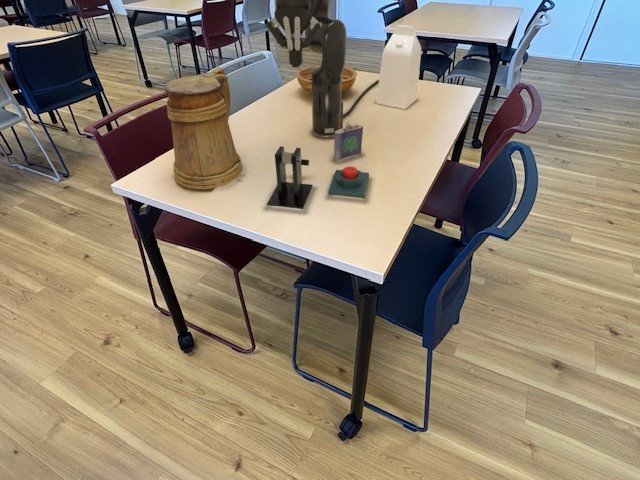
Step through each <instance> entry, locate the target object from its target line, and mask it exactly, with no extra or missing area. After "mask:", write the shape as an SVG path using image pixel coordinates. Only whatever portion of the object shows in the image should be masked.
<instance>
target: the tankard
mask: <svg viewBox="0 0 640 480" xmlns="http://www.w3.org/2000/svg"><path fill="white" fill-rule="evenodd" d="M164 91H165V93H166V94H167V97H168V98H167V100H166V110H167V111H166V112H167V117H168V120H170V126H171V133H172V143H173V155H174V161H173V165H172V166H173V170H172V171H173V177H174V180H175V182H176V183H178V184H179V185H180V186H182V187H185V188H188V189H194V190H211V189H212V190H213V189H216V188H219V187H224V186H226V185H229V184H231V183H232V182H234V181H235V180H236V179H238V177H239V176H241V174H242V172H243V170H244V167H243V166H244V165H243V163H242V159H241V158H242V157H241V156H240V154H239V153H238V152H237V148H236V145H235V142H234V139H233V135H232V132H231V128H230V124H229V118H230V112H231V111H230V110H231V89H230V85H229V79H228V76H227V75H226V73H225V72H224V68H222V67H221V66H218V67H216V68H214V69H212V70H211V71H210V72H204V73H203V72H202V73H199V74H194V75H186V76H182V77H178V78H174V79H171V80H169V81H168V82H166V83H165V86H164Z"/></svg>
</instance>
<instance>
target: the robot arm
mask: <svg viewBox="0 0 640 480" xmlns="http://www.w3.org/2000/svg"><path fill="white" fill-rule="evenodd" d="M330 3H331V0H275V10H274V14H273V15H274V16H273V17H272V18H271V19H270V20H269V21H267V22H266V23H265V26H266V29H268V31H269V32H270V34H271V35H272V36H273V37H274V39H275V40H276V42H277V43H278V45H279V46H280V47H281V48H286V49H287V50H288V58H289V59H288V61H289V62H288V63H289V65H290V66H291V68H297V69H298V68H300V66H301V65H302V63H303V49H306V48H308V49H309V51H311V52H313V53H317V54H321V55H322V56H321V58H322V59H321V63H320V64H317V65H318V66H317V65H314V66H315V67H314V68H313V69H312V72H311V76H312V93H311V118H312V119H311V121H312V129H311V131H312V135H313V136H315V137H317V138H321V139H333V138H335V135H334V134H335V131H337V130H340V129H343V128H344V126H343V125H344V118H345V117H347V116H348V115H349V114H350V113H351V112H352V111H353V110H354V109H355V107H356V106H357V105H358V103H359V101H360V100H361V99H362V98H363V96H364V95H365V94H366V93H367V92H368V91H369V90H370V89H371V88H373V87H374V86H375V85H377V84H379V79H377V80H376V81H375V82H372V84H370V85H369V86H368V87H367V88H366V89H365V90H363V92H361V94H360V95H359V96H358V97H357V98H356V100H355V101H354V103H353V104H352V105H351V107H350V108H349V109H348V111H346V112H345V113H344V102H342V93H343V92H342V73H343V70H344V67H346V56H347V55H346V54H347V44H348V43H347V42H348V41H347V40H348V35H347V28H346V25H345V23H344V22H343V21H342V20H340V19H337V18H333V17H329V14H330V13H329V12H330V11H329V10H330ZM279 27H281V28H282V30H283V31H284V32H285V33H283V32H282V30H281V29H280V28H279ZM303 38H304V39H303Z"/></svg>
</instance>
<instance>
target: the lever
mask: <svg viewBox="0 0 640 480" xmlns="http://www.w3.org/2000/svg"><path fill="white" fill-rule="evenodd" d="M293 153H294V152H289V151H288V152H287V151H284V152H283V153H282V163H285V165H292V155H293ZM301 166H306V167H309V166H310V160H309V159H303V158H301Z"/></svg>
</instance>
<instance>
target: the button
mask: <svg viewBox="0 0 640 480" xmlns="http://www.w3.org/2000/svg"><path fill="white" fill-rule="evenodd" d="M357 170H358V168H357V167H355V166H346V167H343V177H344V178H346V179H354V178H356V177H357Z"/></svg>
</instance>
